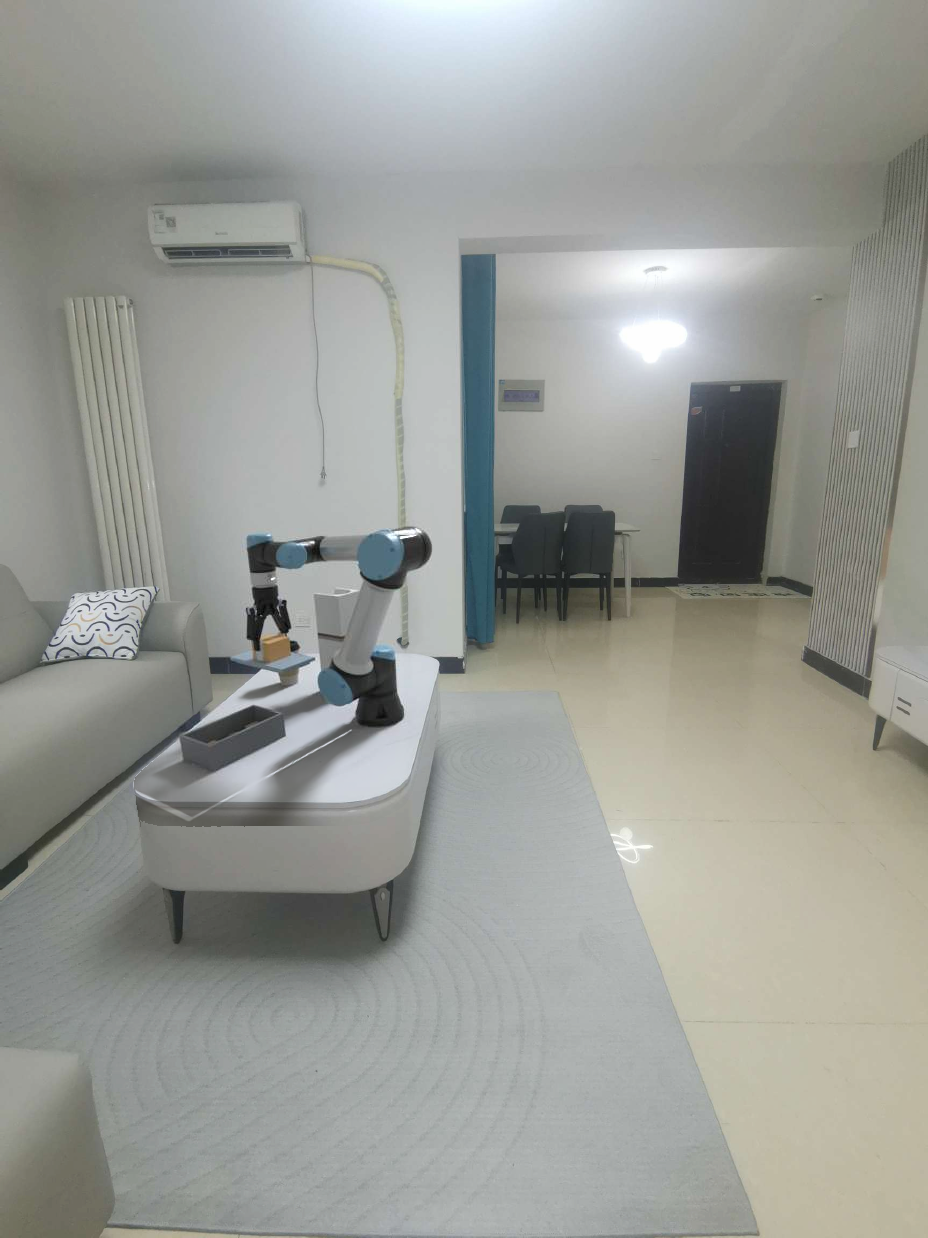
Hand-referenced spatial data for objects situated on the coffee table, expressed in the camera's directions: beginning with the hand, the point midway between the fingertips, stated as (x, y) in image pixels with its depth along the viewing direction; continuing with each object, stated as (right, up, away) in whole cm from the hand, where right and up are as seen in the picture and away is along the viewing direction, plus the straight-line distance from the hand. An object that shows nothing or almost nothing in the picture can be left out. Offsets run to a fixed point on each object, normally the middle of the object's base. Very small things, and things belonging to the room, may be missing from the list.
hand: (272, 656), depth 184 cm
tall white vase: (+17, -13, +27) cm, 34 cm away
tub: (-4, -25, -19) cm, 32 cm away
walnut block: (-8, -26, -25) cm, 37 cm away
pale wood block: (0, -23, -13) cm, 26 cm away
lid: (0, -1, 0) cm, 1 cm away
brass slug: (-4, -24, -19) cm, 31 cm away
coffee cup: (-4, -12, +33) cm, 36 cm away
